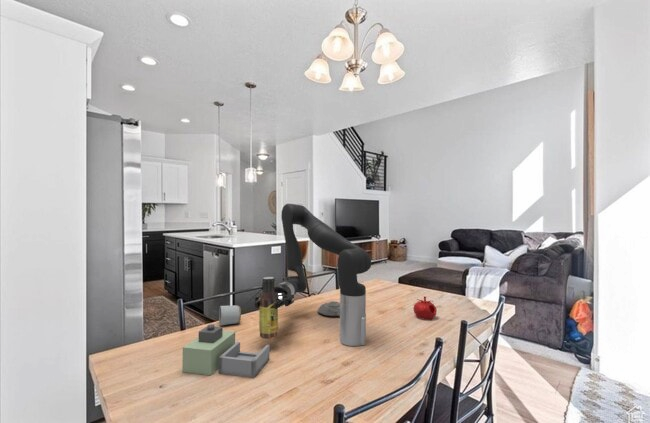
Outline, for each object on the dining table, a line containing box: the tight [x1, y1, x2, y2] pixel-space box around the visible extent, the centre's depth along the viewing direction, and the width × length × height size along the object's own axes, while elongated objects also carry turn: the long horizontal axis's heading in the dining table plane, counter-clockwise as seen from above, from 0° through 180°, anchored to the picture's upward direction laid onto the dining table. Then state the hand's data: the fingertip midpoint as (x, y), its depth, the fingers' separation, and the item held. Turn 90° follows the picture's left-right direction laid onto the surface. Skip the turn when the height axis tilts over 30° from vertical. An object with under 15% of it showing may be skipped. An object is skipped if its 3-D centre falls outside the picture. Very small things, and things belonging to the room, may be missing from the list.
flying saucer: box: [317, 300, 340, 317], centre depth 141 cm, size 15×15×6 cm
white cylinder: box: [218, 304, 242, 327], centre depth 127 cm, size 11×8×8 cm
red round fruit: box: [412, 296, 438, 321], centre depth 136 cm, size 10×10×9 cm
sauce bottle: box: [258, 276, 279, 340], centre depth 104 cm, size 6×6×20 cm
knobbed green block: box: [182, 323, 271, 378], centre depth 92 cm, size 22×14×11 cm, turn 79°
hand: (265, 305), depth 102 cm, fingers closed on sauce bottle, 6 cm apart
